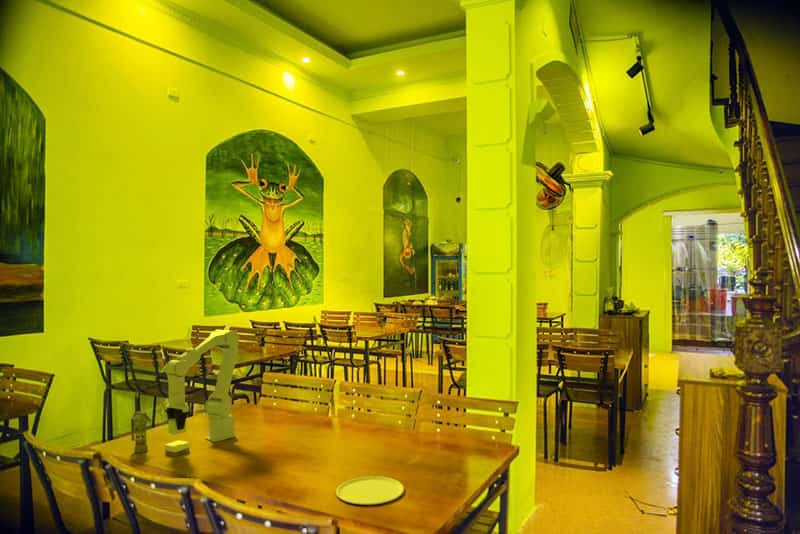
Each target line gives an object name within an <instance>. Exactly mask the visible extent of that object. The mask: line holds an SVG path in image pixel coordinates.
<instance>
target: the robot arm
mask: <svg viewBox="0 0 800 534" xmlns="http://www.w3.org/2000/svg"><path fill="white" fill-rule="evenodd" d="M240 338H241V337H240V335H239V334H238V332H237V331H236V330H233V329H231V330H229V329H219V328H217V329H215V330H214V331H213V332H210V335H209V336H208V337H207V338H206V339H204V340H203V341H202V342H201V343H200V344H198V345H197V346H196V347H195V348H193V347H191V348H186V349H185V352H183V353H182V354H181V355H178V356H176V358H175V359H171V360H169V361H168V362H167V363H166V365H165V368H164V372H165V374H166V375H167V377H166V378H167V380H168V400H166V401H165V409H164V411H165V413H166V414H167V418H168V420H169V419H173V418H175V419H176V424H177V429H178V430H181V429H184V425H185V421H187V417H188V415H189V414H190V407H189V405H188V404H187V402H186V383H185V382H186V381H185V379H186V377H185V376H186V375H187V373H188V371H189V369H190V368H191V367H192V366H193V365H195V364H197V362H199V361H200V359H201V356H202V355H203V354H205V353H206V352H207V351H209V350H210V349H212V348H214V347H215V346H216V347H217V348H219V350H221V352H222V359H221V364H220V367H219V371H218V376H217V379H216V384H215V388H214V391H213V392H212V393H210V394H209V396H208V399H207V401H206V402H205V404H204V412H205V413H206V414H207V417H208V429H209V430H208V431H209V435H208V436H205V438H204V439H205V440H208V441H211V442H213V443H217V442H220V441H224V440H228V439H231V438H235V437H236V434H235V432H236V431H235V418H234V416H233V415H232V414H231V412H232V401H233V398H232V397H231V396H230V395H229V392H230V387H231V383H232V379H233V374H234V370H235V366H236V362H237V357H238V355H239V354H238V353H239V341H240Z"/></svg>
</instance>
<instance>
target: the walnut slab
mask: <svg viewBox="0 0 800 534" xmlns="http://www.w3.org/2000/svg"><path fill="white" fill-rule="evenodd" d="M164 452H165V455H168V454H169V456H172V455H173V457H178V456H181V455H185V454H187V453H189V452H190V447H189V448H186V449H184V450H181V451H178V452H171V451H167V450H165V449H164Z"/></svg>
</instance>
